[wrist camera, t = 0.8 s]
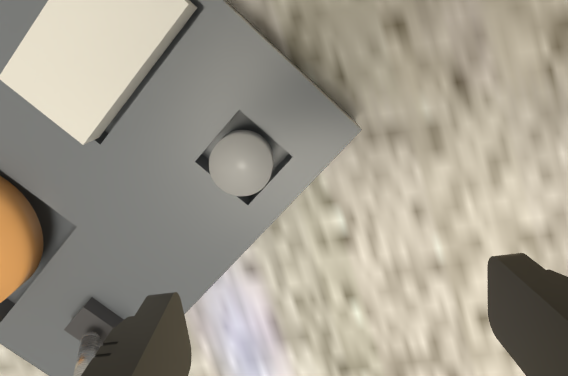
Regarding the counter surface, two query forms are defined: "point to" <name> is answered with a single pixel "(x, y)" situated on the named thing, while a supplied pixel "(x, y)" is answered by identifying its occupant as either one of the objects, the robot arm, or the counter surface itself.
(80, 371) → the toggle lever
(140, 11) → the key
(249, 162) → the grey button
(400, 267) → the counter surface
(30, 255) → the orange button
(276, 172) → the control panel
